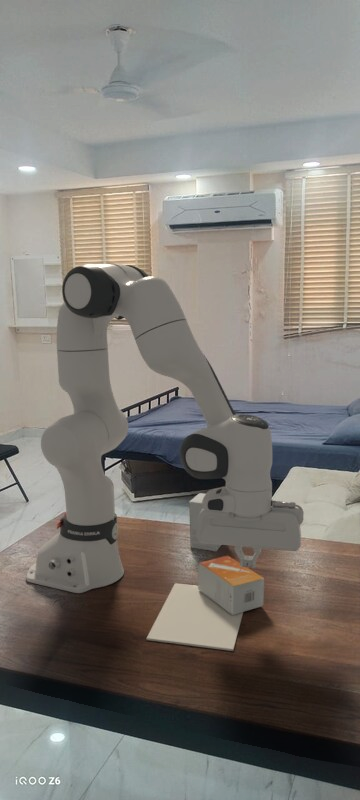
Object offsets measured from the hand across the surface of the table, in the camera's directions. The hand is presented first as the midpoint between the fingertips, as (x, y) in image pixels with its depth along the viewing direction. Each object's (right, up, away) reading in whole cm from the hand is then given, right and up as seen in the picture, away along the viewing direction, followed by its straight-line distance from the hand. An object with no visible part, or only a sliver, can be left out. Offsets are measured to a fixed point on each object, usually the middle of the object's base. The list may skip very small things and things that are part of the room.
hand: (248, 566), depth 115 cm
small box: (+1, -7, +4) cm, 8 cm away
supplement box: (-6, -5, +38) cm, 39 cm away
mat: (-9, -11, +4) cm, 15 cm away
